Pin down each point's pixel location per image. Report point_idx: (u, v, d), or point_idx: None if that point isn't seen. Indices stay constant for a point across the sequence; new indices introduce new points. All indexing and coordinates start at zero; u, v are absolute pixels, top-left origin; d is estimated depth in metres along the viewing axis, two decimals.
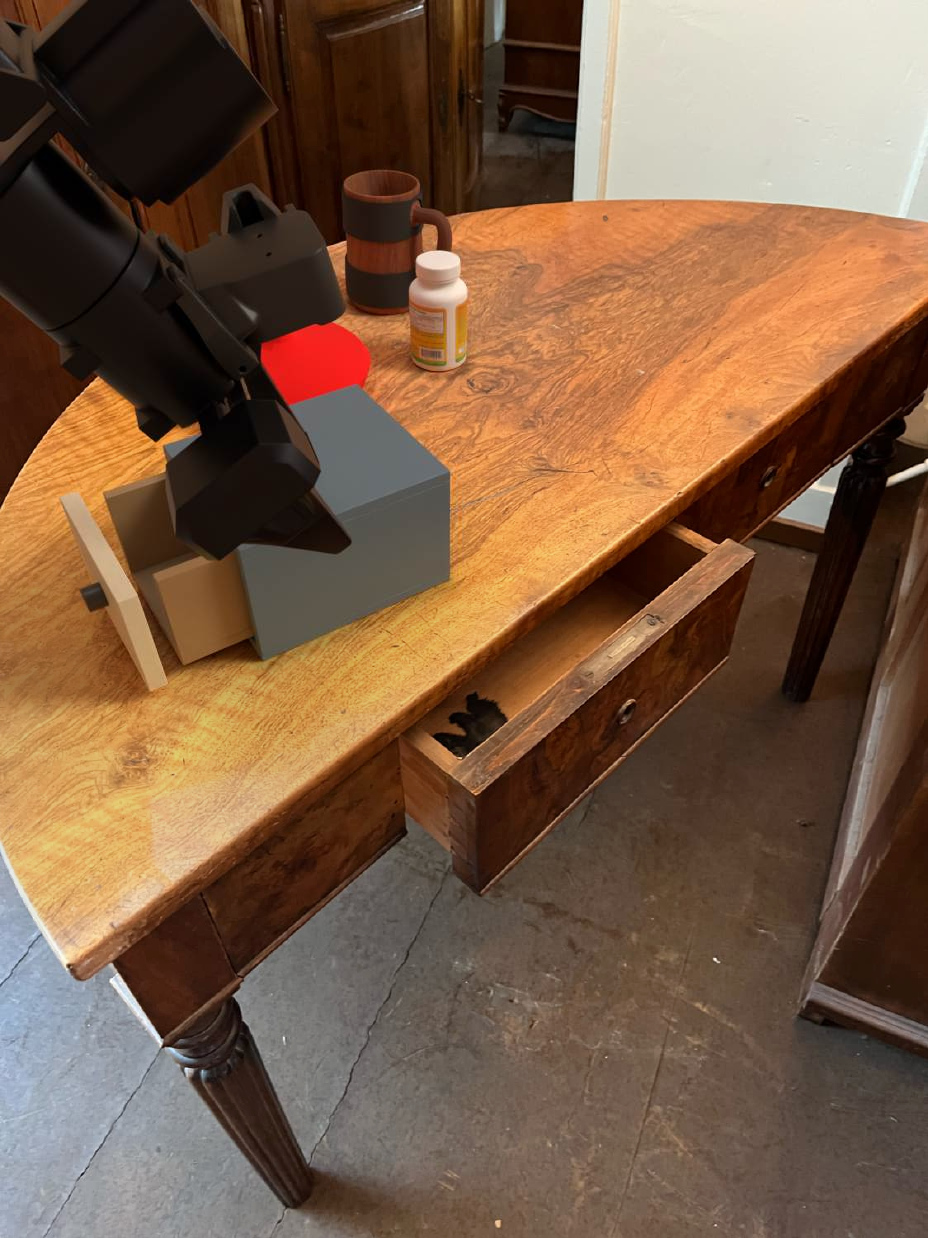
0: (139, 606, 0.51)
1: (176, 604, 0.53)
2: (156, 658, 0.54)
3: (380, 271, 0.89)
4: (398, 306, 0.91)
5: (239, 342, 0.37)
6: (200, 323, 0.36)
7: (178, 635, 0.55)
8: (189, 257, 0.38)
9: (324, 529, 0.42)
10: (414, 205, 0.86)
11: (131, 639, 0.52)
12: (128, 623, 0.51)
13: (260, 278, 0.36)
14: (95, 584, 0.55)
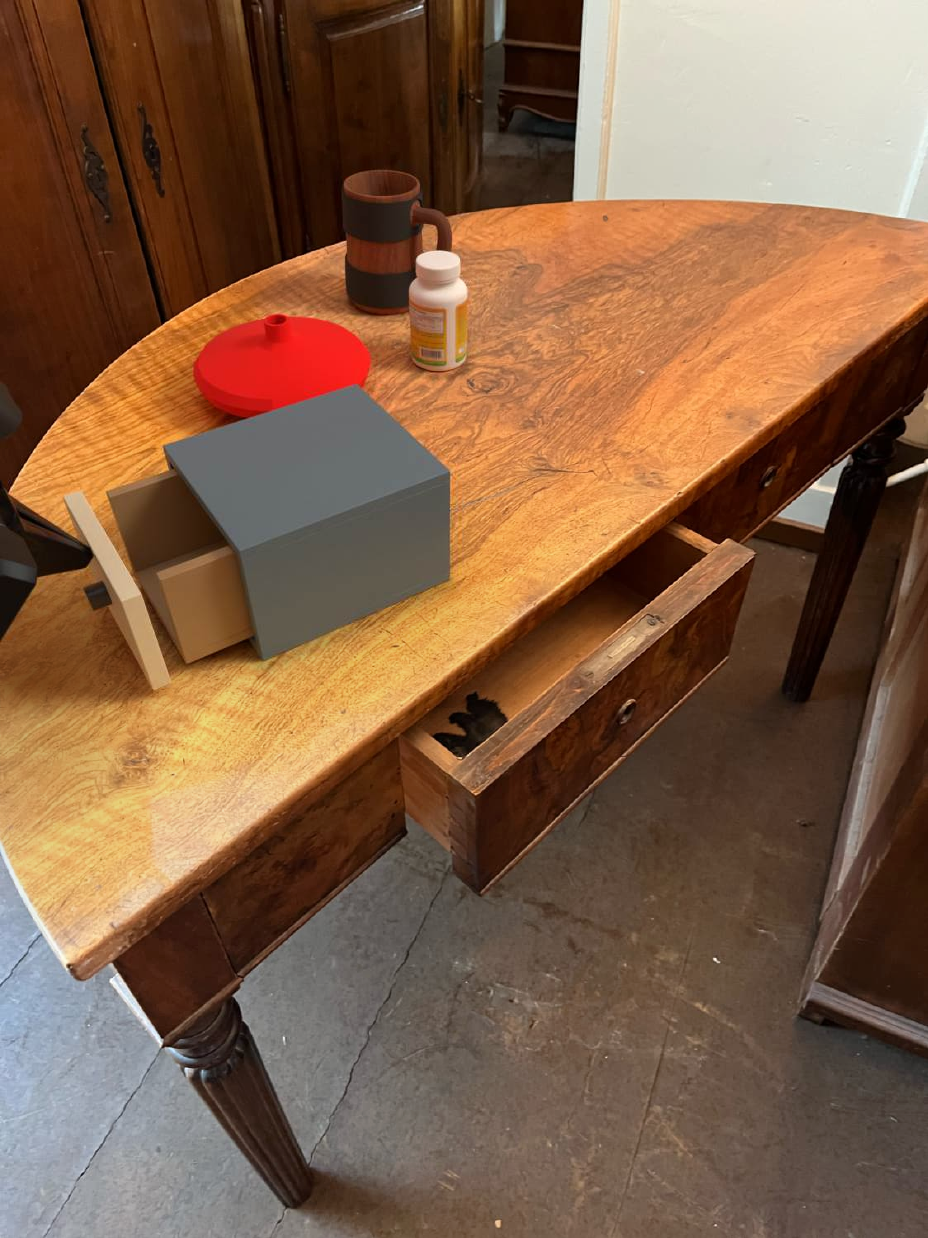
0: (143, 605, 0.51)
1: (179, 603, 0.53)
2: (159, 657, 0.54)
3: (380, 271, 0.89)
4: (398, 306, 0.91)
5: None
6: None
7: (181, 634, 0.55)
8: None
9: (60, 553, 0.51)
10: (414, 205, 0.86)
11: (134, 638, 0.52)
12: (132, 622, 0.51)
13: None
14: (98, 583, 0.55)
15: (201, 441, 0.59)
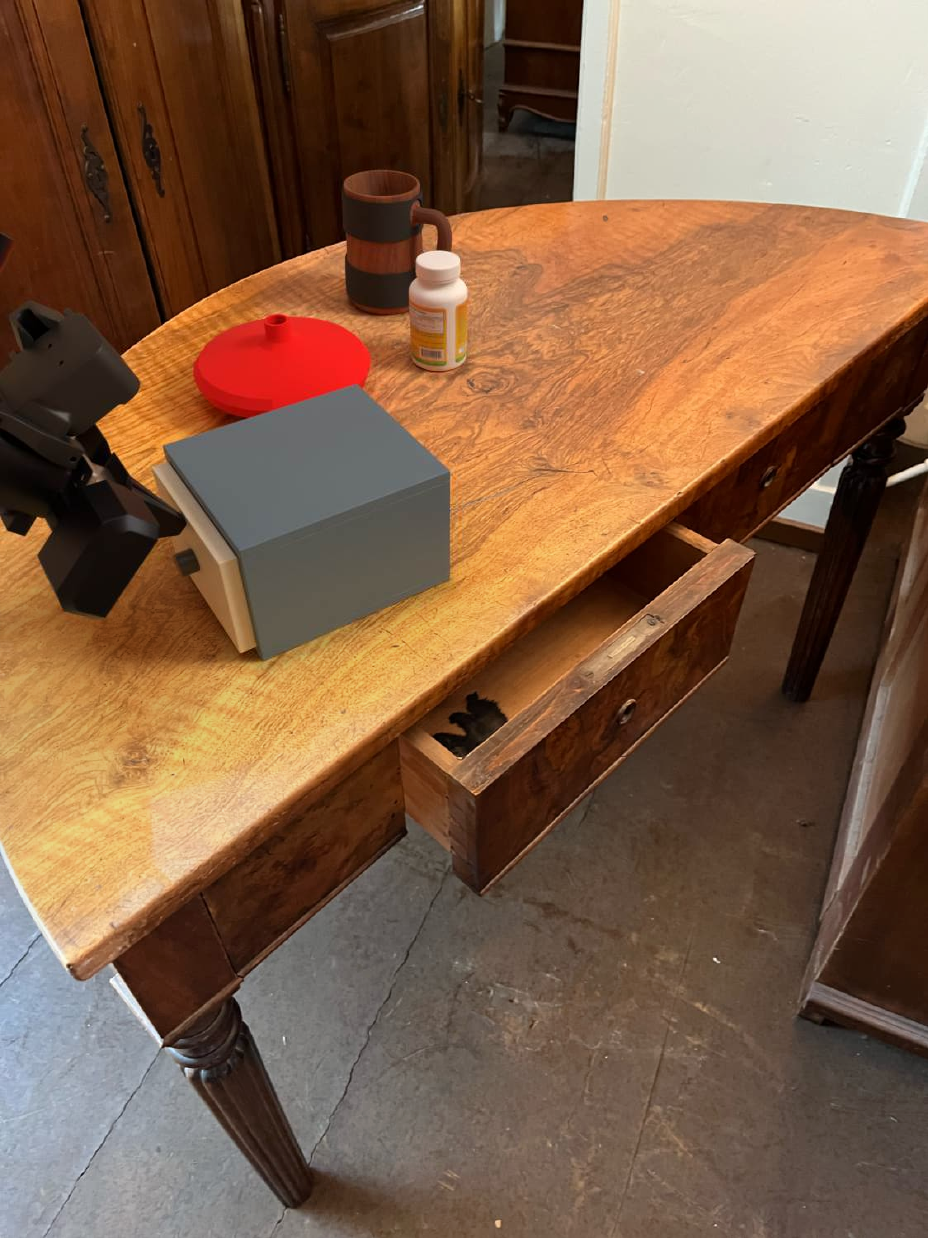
0: (237, 568, 0.53)
1: None
2: (248, 620, 0.56)
3: (380, 271, 0.89)
4: (398, 306, 0.91)
5: (62, 440, 0.45)
6: (25, 437, 0.44)
7: None
8: None
9: (159, 519, 0.54)
10: (414, 205, 0.86)
11: (228, 600, 0.54)
12: (227, 585, 0.53)
13: (60, 386, 0.44)
14: (187, 550, 0.58)
15: (201, 441, 0.59)
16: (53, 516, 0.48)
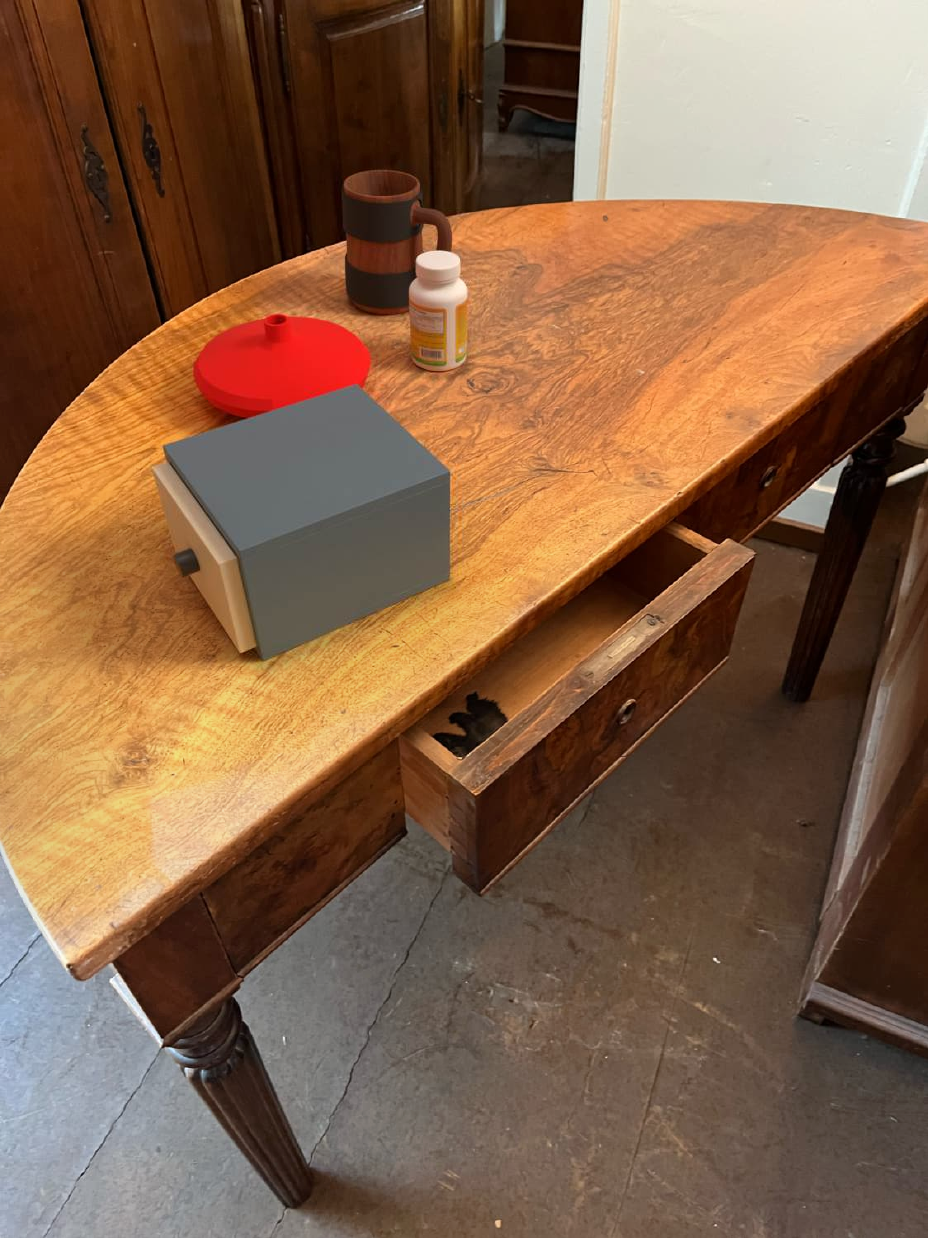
0: (237, 568, 0.53)
1: None
2: (248, 620, 0.56)
3: (380, 271, 0.89)
4: (398, 306, 0.91)
5: None
6: None
7: None
8: None
9: None
10: (414, 205, 0.86)
11: (228, 600, 0.54)
12: (227, 585, 0.53)
13: None
14: (187, 550, 0.58)
15: (201, 441, 0.59)
16: None
